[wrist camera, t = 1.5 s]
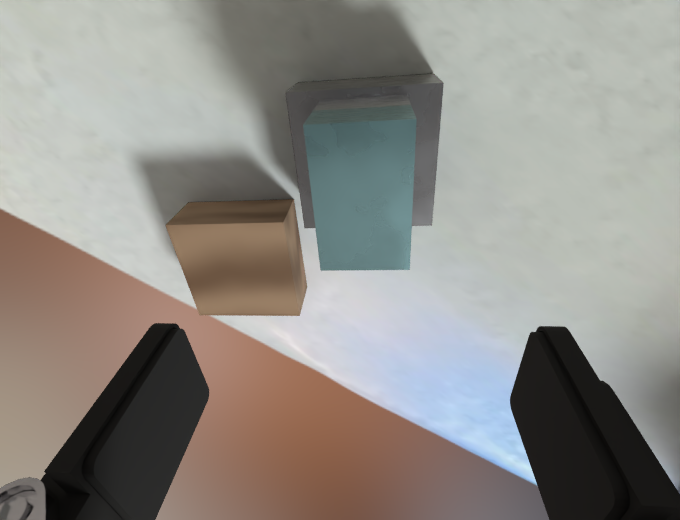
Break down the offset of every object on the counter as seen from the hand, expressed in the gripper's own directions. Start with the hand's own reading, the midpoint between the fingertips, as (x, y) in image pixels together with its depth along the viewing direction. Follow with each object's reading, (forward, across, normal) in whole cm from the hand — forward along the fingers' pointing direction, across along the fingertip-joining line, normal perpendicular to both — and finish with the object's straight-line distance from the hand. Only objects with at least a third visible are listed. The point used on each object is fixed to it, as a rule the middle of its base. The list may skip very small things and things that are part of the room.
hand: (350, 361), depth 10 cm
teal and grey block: (+16, 0, 0) cm, 16 cm away
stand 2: (+20, 0, 0) cm, 20 cm away
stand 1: (+20, +10, +8) cm, 24 cm away
